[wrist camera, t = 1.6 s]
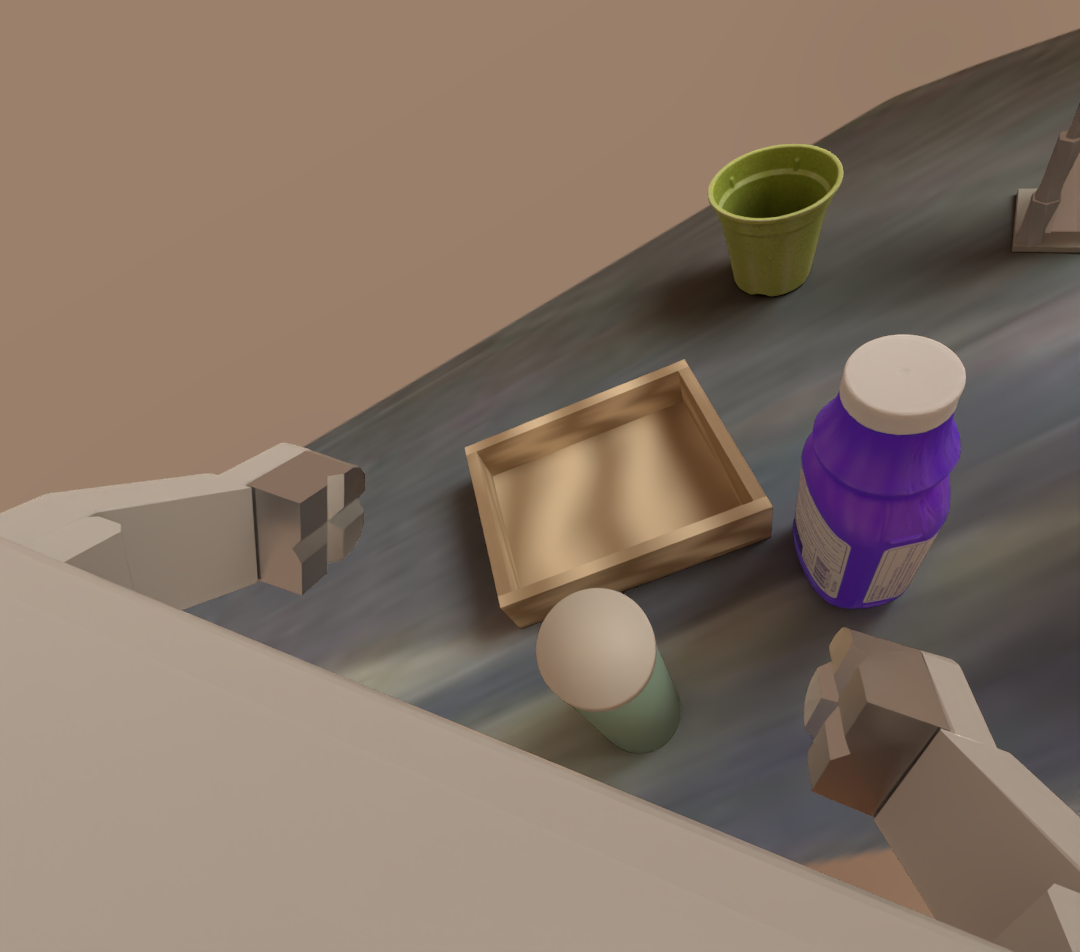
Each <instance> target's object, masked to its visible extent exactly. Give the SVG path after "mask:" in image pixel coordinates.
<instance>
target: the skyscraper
mask: <svg viewBox="0 0 1080 952" xmlns="http://www.w3.org/2000/svg"><path fill="white" fill-rule="evenodd" d="M1012 252H1073V253H1080V104H1079V106H1078V109H1077V111H1076V114H1075V116H1074V119H1073V121H1072V124H1071V127H1070V128H1069V130H1067V131H1064V132H1060V135H1059V137H1058V140H1057V142H1056V145H1055V148H1054V150H1053V153H1052V156H1051V158H1050V161H1049V164H1048V166H1047V169H1046V172H1045V174H1044V177H1043V180H1042V182H1041V184H1040V186H1039V188H1038V189H1019V190H1018V192H1017V197H1016V209H1015V221H1014V232H1013V244H1012Z"/></svg>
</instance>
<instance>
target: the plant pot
mask: <svg viewBox="0 0 1080 952" xmlns="http://www.w3.org/2000/svg"><path fill="white" fill-rule="evenodd" d="M842 179H843V167H842V164H841V162H840V160H839V159H838V158H837V157H836V156H835V155H833V154H832V153H831V152H829V151H827V150H825V149H822V148H819V147H816V146H812V145H804V144H784V145H775V146H770V147H766V148H762V149H758V150H755V151H753V152H750V153H747V154H745V155H743V156H741V157H738V158H736V159H735V160H733V161H731V162H730V163H728V164H727V165H726V166H724V167H723V168H722V169H721V170H720V171H719V172H718V173H717V174H716V175H715V177H714V178H713V180H712V181H711V183H710V186H709V189H708V199H709V203H710V205H711V207H712V208H713V209H714V210H715V211H716V213H717V216H718V218H719V220H720V222H721V223H722V226H723V230H724V234H725V238H726V243H727V247H728V252H729V256H730V261H731V266H732V270H733V275H734V279H735V282H736V284H737V285H738V287H739V288H740V289H741V290H743V291H745V292H746V293H748V294H752V295H753V294H764V295H767V296H777V295H782V294H785V293H788V292H790V291H792V290H794V289H796V288H797V287H799V286H800V285H801V284H803V283H804V281H805V280H806V278H807V276H808V275H809V273H810V270H811V266H812V262H813V259H814V254H815V250H816V246H817V242H818V239H819V235H820V231H821V227H822V223H823V219H824V216H825V212H826V209H827V208H828V206H829V205H830V203H831V200H832V197H833V195H834V194H835V193H836V192H837V190H838V188H839V187H840V185H841V182H842Z"/></svg>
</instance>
